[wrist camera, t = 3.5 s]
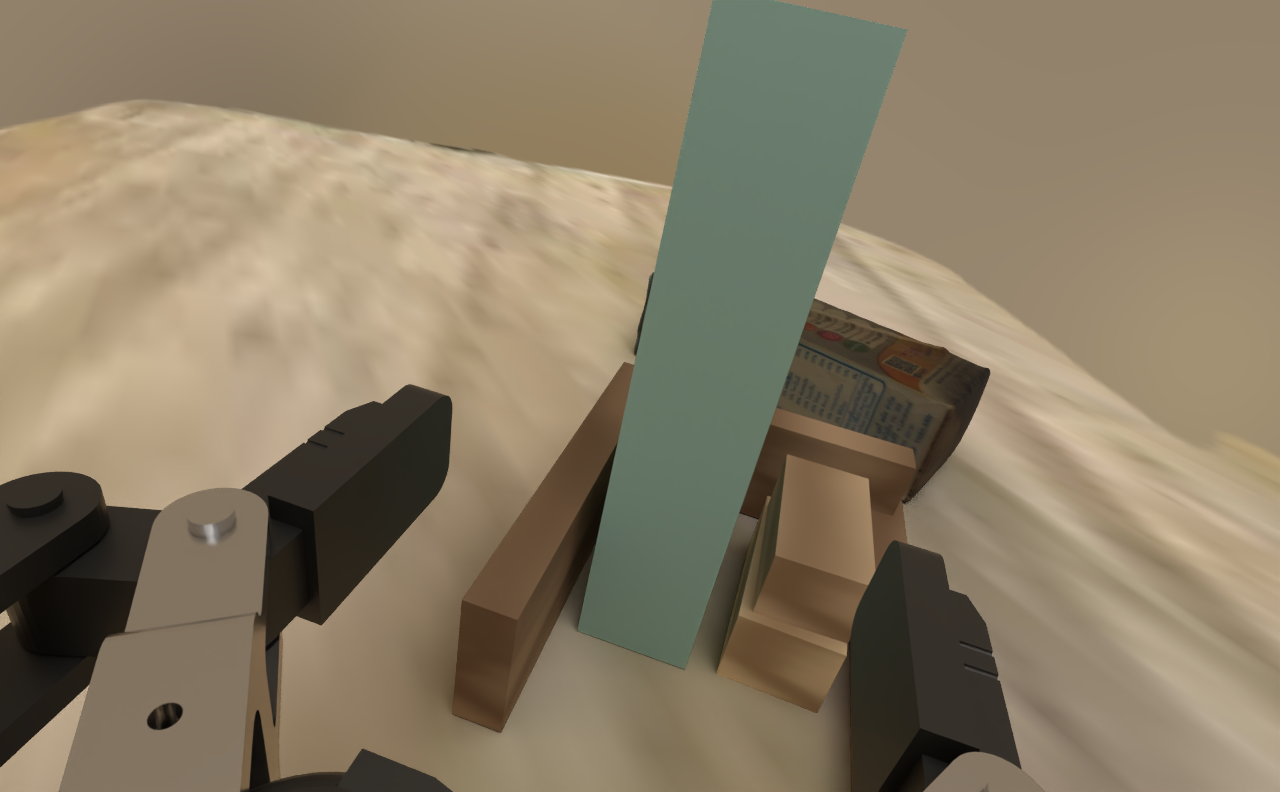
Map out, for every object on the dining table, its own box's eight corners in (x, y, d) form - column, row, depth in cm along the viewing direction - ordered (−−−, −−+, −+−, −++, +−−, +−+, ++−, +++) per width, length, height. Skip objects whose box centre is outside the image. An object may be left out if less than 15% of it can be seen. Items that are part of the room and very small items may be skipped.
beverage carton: (696, 329, 49) (719, 242, 46) (954, 459, 40) (1005, 363, 37) (627, 356, 43) (648, 259, 40) (911, 516, 35) (967, 408, 31)
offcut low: (827, 580, 29) (853, 525, 28) (815, 716, 23) (846, 656, 22) (747, 551, 30) (767, 495, 28) (714, 677, 24) (738, 615, 22)
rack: (882, 537, 32) (924, 452, 30) (909, 891, 19) (990, 791, 16) (606, 448, 34) (624, 361, 31) (452, 713, 21) (462, 600, 18)
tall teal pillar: (716, 542, 30) (887, 32, 20) (684, 669, 24) (907, 29, 14) (630, 513, 30) (753, 3, 20) (577, 630, 24) (715, -13, 14)
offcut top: (845, 529, 27) (868, 478, 26) (847, 644, 22) (876, 588, 21) (767, 505, 28) (787, 454, 26) (752, 612, 22) (775, 555, 21)
